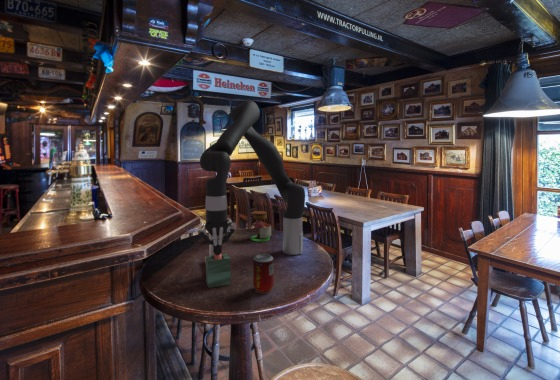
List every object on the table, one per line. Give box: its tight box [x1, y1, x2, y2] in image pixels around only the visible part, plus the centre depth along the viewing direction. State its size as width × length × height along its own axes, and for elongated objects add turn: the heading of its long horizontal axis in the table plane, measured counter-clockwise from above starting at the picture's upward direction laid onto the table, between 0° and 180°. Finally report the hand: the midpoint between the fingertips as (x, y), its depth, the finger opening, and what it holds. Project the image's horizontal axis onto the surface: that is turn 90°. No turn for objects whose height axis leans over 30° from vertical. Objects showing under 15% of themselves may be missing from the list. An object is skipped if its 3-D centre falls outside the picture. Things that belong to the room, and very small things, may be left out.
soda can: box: [252, 253, 275, 294], centre depth 105 cm, size 7×7×12 cm
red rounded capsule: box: [214, 252, 222, 260], centre depth 109 cm, size 3×3×5 cm
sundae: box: [224, 212, 233, 243], centre depth 162 cm, size 7×7×15 cm
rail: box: [204, 253, 232, 289], centre depth 119 cm, size 26×8×10 cm, turn 22°
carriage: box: [208, 233, 218, 256], centre depth 115 cm, size 6×5×17 cm
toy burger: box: [250, 210, 272, 243], centre depth 164 cm, size 12×13×15 cm
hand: (217, 254), depth 109 cm, fingers closed
